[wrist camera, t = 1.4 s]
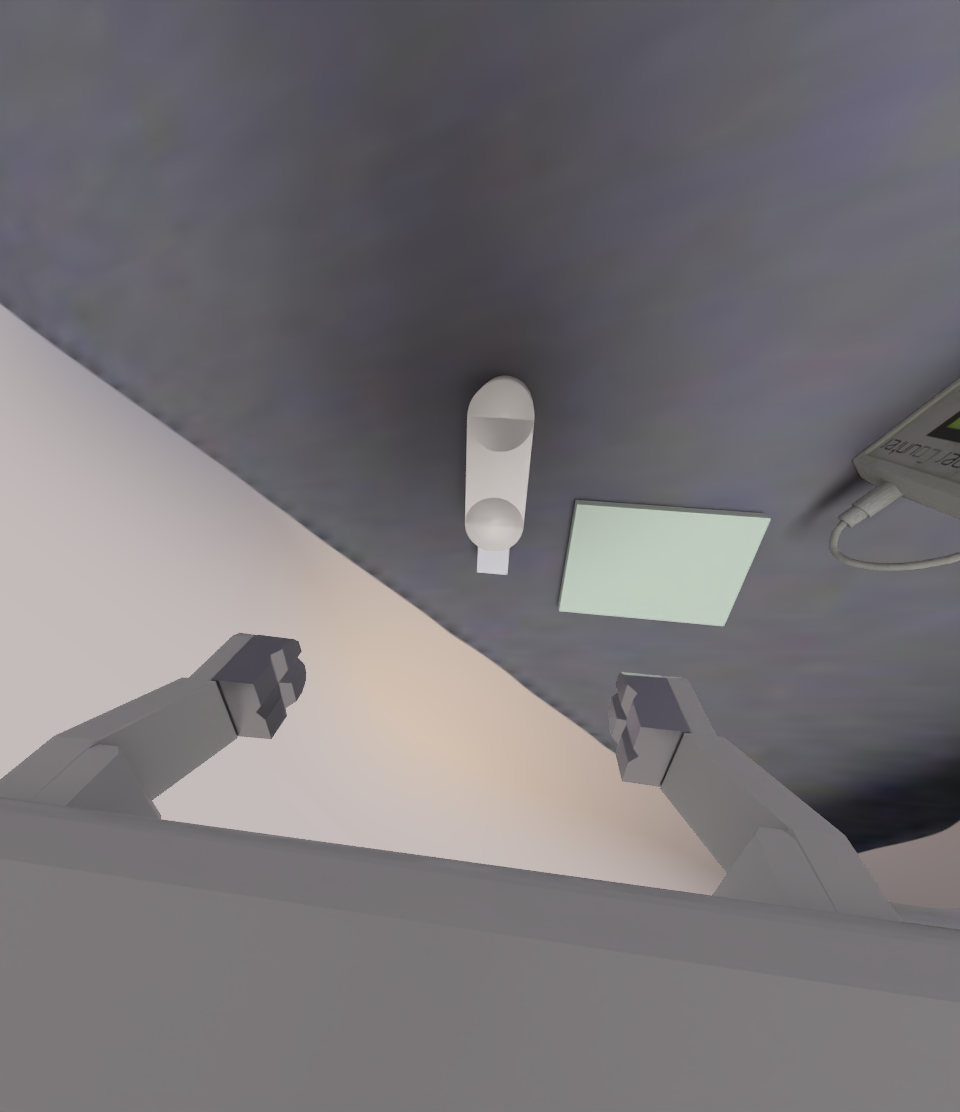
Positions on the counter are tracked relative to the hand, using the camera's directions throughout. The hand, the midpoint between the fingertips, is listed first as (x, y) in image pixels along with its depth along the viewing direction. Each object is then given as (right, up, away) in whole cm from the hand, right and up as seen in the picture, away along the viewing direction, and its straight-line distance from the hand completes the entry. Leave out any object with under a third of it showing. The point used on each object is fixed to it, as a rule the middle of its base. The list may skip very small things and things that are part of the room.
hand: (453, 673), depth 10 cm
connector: (+2, +9, +20) cm, 22 cm away
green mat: (+15, +2, +22) cm, 27 cm away
